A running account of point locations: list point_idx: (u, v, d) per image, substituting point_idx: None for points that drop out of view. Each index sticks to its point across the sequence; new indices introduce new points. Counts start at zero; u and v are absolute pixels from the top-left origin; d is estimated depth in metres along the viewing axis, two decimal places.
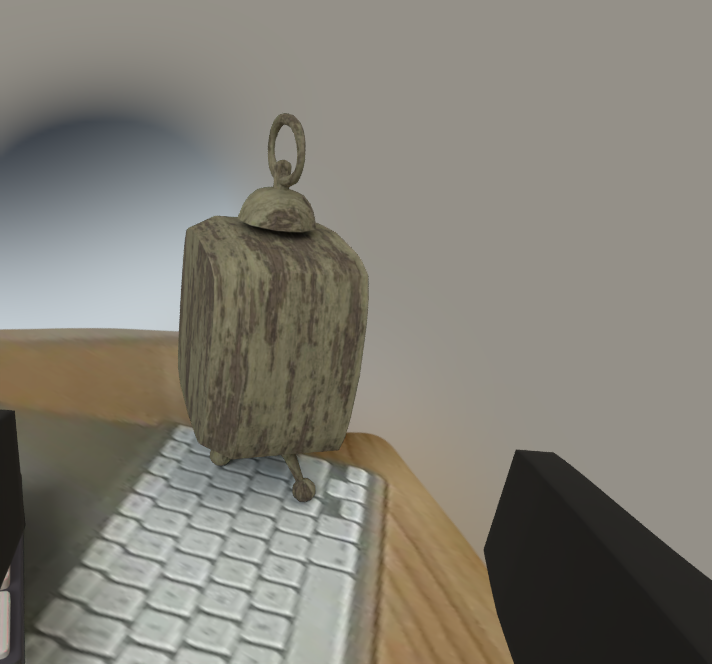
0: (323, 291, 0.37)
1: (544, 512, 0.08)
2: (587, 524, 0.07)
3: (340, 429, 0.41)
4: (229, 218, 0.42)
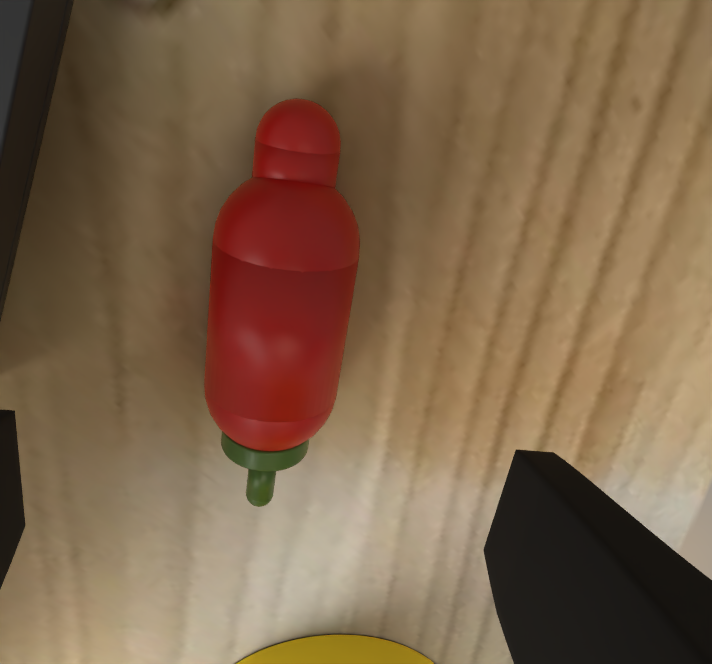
0: None
1: (544, 512, 0.08)
2: (587, 524, 0.07)
3: None
4: None
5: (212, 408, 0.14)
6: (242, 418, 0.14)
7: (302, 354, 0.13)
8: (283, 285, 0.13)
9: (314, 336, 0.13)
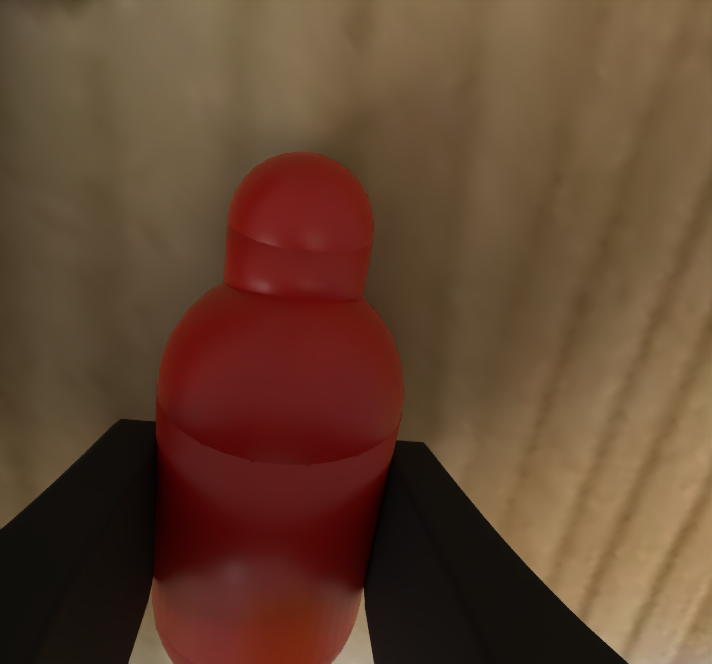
0: None
1: (396, 502, 0.08)
2: (423, 514, 0.07)
3: None
4: None
5: (162, 640, 0.09)
6: None
7: (307, 583, 0.08)
8: (275, 489, 0.07)
9: (328, 553, 0.08)
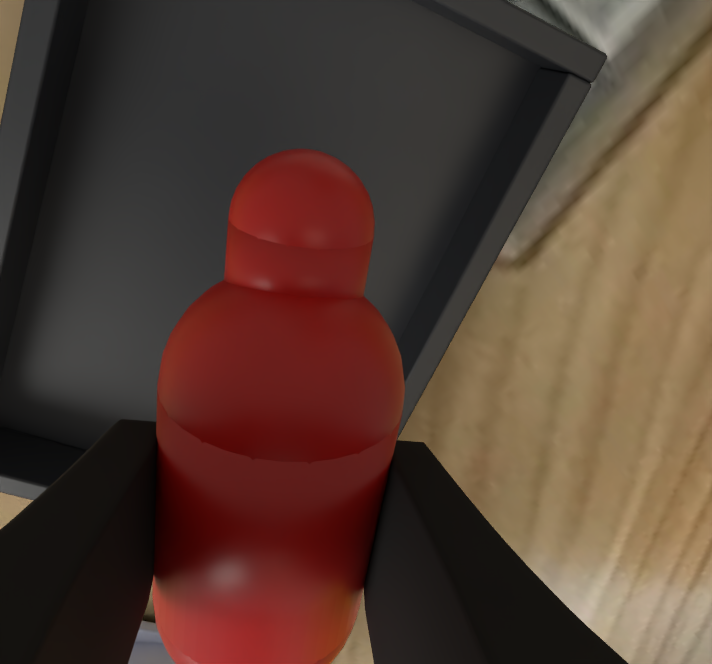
0: None
1: (395, 502, 0.08)
2: (423, 514, 0.07)
3: None
4: None
5: (163, 639, 0.09)
6: None
7: (308, 580, 0.08)
8: (276, 486, 0.07)
9: (329, 551, 0.08)
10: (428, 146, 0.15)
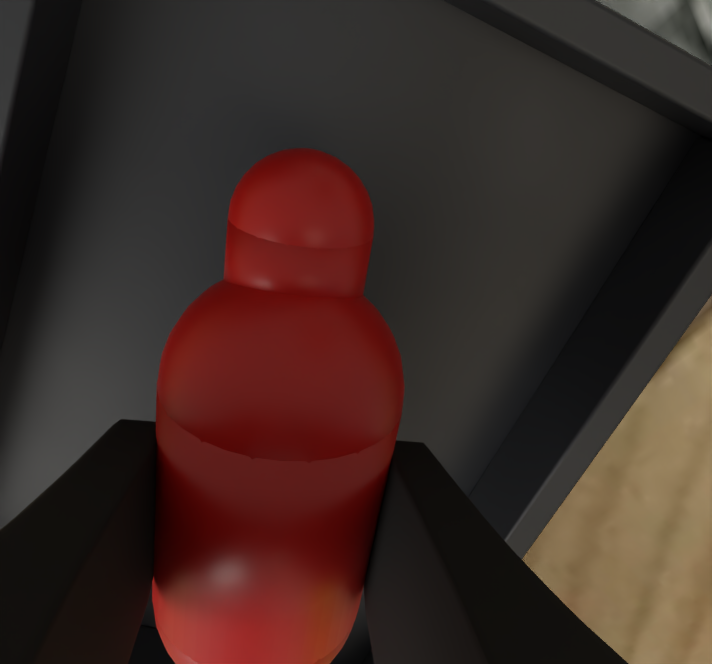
0: None
1: (396, 502, 0.08)
2: (422, 514, 0.07)
3: None
4: None
5: (162, 639, 0.09)
6: None
7: (308, 580, 0.08)
8: (275, 485, 0.07)
9: (329, 550, 0.08)
10: (537, 239, 0.11)
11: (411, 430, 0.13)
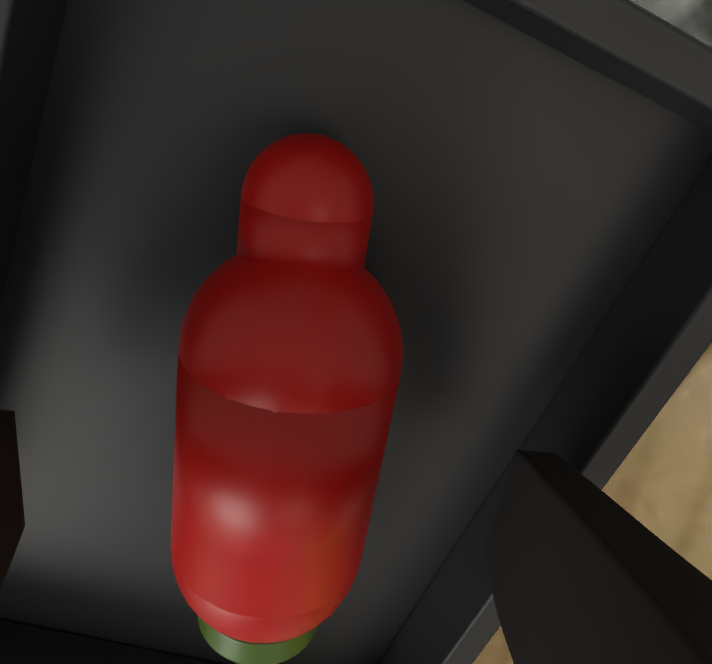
0: None
1: (545, 512, 0.08)
2: (587, 524, 0.07)
3: None
4: None
5: (184, 590, 0.10)
6: (230, 614, 0.09)
7: (322, 525, 0.09)
8: (295, 436, 0.08)
9: (340, 497, 0.09)
10: (551, 248, 0.10)
11: (417, 446, 0.12)
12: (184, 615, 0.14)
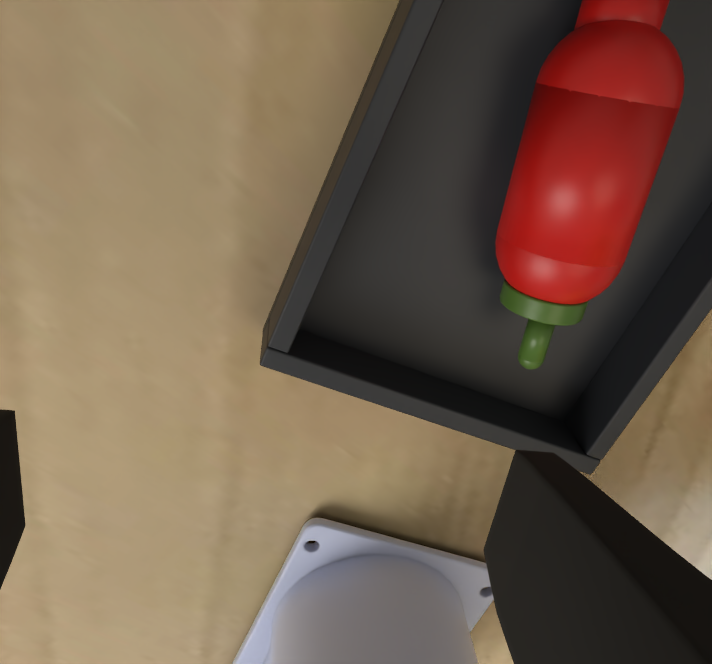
0: None
1: (544, 512, 0.08)
2: (587, 524, 0.07)
3: None
4: None
5: (523, 259, 0.15)
6: (563, 263, 0.15)
7: (633, 195, 0.14)
8: (637, 121, 0.13)
9: (644, 177, 0.14)
10: None
11: None
12: (454, 345, 0.19)
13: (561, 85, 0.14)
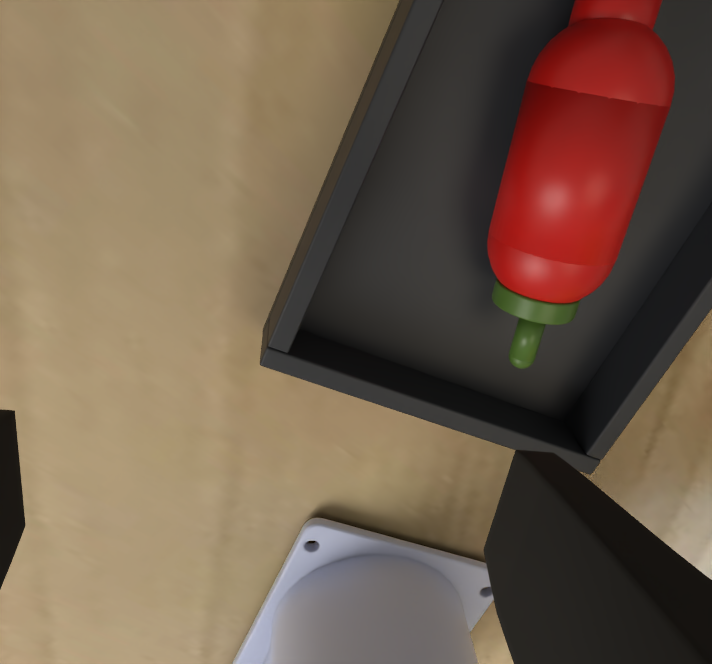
0: None
1: (544, 512, 0.08)
2: (587, 524, 0.07)
3: None
4: None
5: (507, 255, 0.15)
6: (545, 260, 0.15)
7: (616, 193, 0.14)
8: (617, 117, 0.13)
9: (630, 176, 0.14)
10: None
11: (639, 204, 0.17)
12: (454, 345, 0.19)
13: (544, 82, 0.14)
